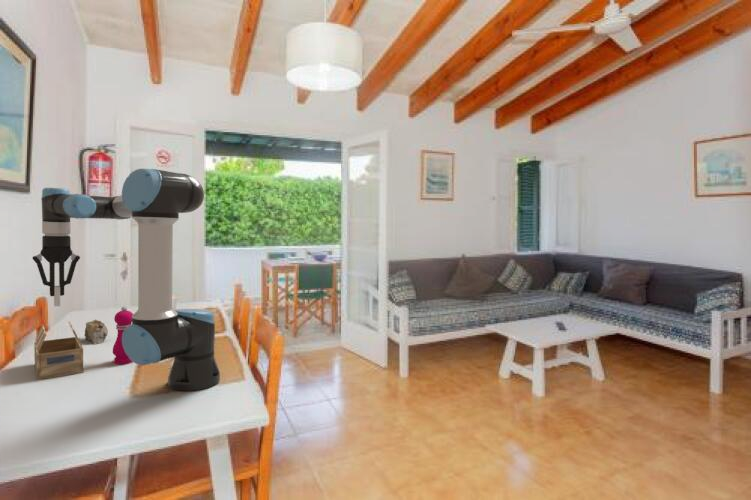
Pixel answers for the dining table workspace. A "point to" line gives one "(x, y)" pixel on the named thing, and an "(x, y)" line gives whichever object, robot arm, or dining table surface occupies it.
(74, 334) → the flap right
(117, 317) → the pepper mill
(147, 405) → the dining table surface
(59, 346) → the carton
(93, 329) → the rock
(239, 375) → the dining table surface
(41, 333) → the flap left
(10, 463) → the dining table surface
